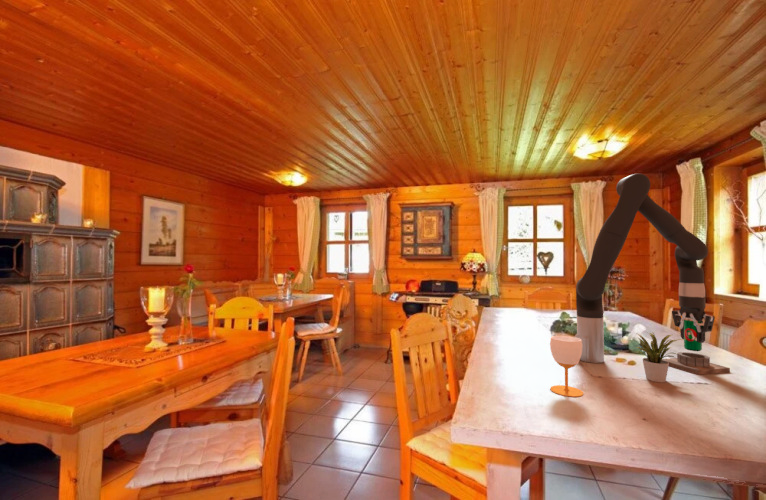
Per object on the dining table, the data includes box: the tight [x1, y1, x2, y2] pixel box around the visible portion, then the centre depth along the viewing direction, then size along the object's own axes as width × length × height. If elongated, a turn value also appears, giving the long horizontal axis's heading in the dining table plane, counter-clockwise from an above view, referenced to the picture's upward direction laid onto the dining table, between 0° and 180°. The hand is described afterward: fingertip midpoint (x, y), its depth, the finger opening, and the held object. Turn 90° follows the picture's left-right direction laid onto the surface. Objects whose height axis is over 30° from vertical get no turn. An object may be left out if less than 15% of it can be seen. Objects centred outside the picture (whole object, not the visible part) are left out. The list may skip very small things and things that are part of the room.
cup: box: [549, 335, 584, 398], centre depth 109 cm, size 9×9×16 cm
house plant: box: [634, 330, 685, 383], centre depth 119 cm, size 14×14×16 cm
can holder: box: [662, 351, 731, 376], centre depth 133 cm, size 14×14×4 cm
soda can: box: [683, 317, 703, 352], centre depth 133 cm, size 5×5×12 cm
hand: (692, 340), depth 133 cm, fingers closed on soda can, 5 cm apart
